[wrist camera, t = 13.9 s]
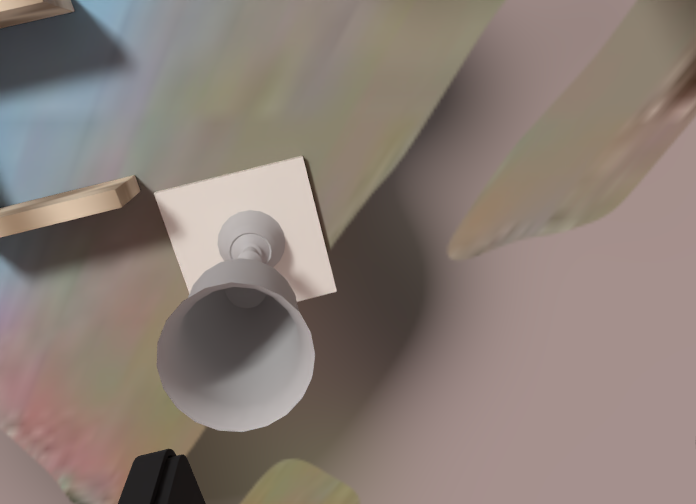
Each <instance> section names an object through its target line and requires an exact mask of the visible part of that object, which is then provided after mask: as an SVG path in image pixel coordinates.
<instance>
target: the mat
mask: <svg viewBox="0 0 696 504" xmlns="http://www.w3.org/2000/svg"><path fill="white" fill-rule="evenodd" d="M154 195H155V198H156V201H157V204H158V207H159V209H160V212H161V215H162V218H163V221H164V223H165V226H166V229H167V232H168V235H169V237H170V240H171V243H172V246H173V249H174V251H175V254H176V257H177V260H178V263H179V265H180V268H181V271H182V274H183V277H184V279H185V282H186V285H187V288H188V290H189V293H190V292H191V289H192V287H193V285H194V283H195V282H196V281H197V280H198V279H199V278H200V276H201V275H202V274H203V273H204V272H205V271H206V270H208V269H210V268H211V267H213V266H215V265H217V264H218V263H220V262H224V260H223V258H222V257H221V255H220V252H219V248H218V234H219V232H220V230H221V227H222V225H223V224H224V223H225V222H226V221H227V220H228V219H229V217H231V216H233V215H235V214H237V213H238V212H242V211H248V210H253V211H261V212H263V213H265V214H267V215H270V216H271V217H272V218H273V219H274V220H276V221H277V222H278V223H279V225H280V227H281V229H282V230H283V232H284V237H285V249H284V253H283V255H282V257H281V259H280V261H279V262H278V263H277V264H276V265H275V266H274V267H273V268H275V269H276V270H277V271H278V272H279V273H280V274H281V275H282V276H283V277H284V278H285V279H286V280H287V281H288V283H289V284H290V286H291V288H292V290H293V292H294V293H295V295H296V300H297V302H298V301H302V300H306V299H310V298H314V297H317V296H321V295H325V294H329V293H333V292H337V290H336V287H335V282H334V278H333V274H332V270H331V266H330V262H329V258H328V254H327V250H326V247H325V243H324V239H323V235H322V231H321V227H320V223H319V219H318V215H317V211H316V207H315V203H314V199H313V195H312V191H311V187H310V183H309V179H308V175H307V171H306V167H305V164H304V160H303V156H298V157H294V158H290V159H286V160H282V161H278V162H274V163H270V164H266V165H262V166H258V167H254V168H250V169H246V170H242V171H238V172H233V173H229V174H225V175H221V176H217V177H213V178H209V179H205V180H201V181H197V182H193V183H189V184H185V185H181V186H177V187H173V188H169V189H165V190H161V191H156V192H155V193H154Z"/></svg>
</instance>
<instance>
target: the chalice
mask: <svg viewBox="0 0 696 504" xmlns="http://www.w3.org/2000/svg"><path fill="white" fill-rule="evenodd" d="M218 248H219V252H220V255H221V257H222V258H223V260H224V262H220V263H218V264H217V265H215V266H213V267H211V268H210V269H208V270H206V271H205V272H204V273H203V274H202V275H201V276H200V278H199V279H198V280H197V281H196V282H195V283H194V285H193V287H192V289H191V292H190V294H189V297H188V298H187V299H186V300H184V301H182V303H181V304H180V305H179V306H178V307H177V309H176V310H175V311H174V312H173V313H172V314H171V316H170V317H169V318H168V319H167V320H166V323H165V325H164V328H163V330H162V333H161V336H160V338H159V341H158V347H157V369H158V372H159V375H160V379H161V382H162V385H163V389H164V390H165V391H166V393H167V394H168V396H169V397H170V399H171V400H172V401H173V403H174V404H175V406H176V407H177V408H178V409H179V410H181V411H182V412H183V413H185V414H186V415H187V416H189V417H190V418H191V419H192V420H194V421H195V422H197V423H200V424H203V425H205V426H208V427H211V428H214V429H216V430H222V431H240V432H243V431H248V430H252V429H256V428H261V427H264V426H268V425H269V424H271V423H273V422H274V421H276V420H278V419H280V418H281V417H283V416H285V415H287V414H288V412H289V411H290V410H291V409H292V408H293V407H294V406H295V405H296V404H297V403H298V402H299V400H301V399H302V397H303V395H304V393H305V391H306V389H307V387H308V385H309V383H310V381H311V378H312V374H313V367H314V359H315V352H314V348H313V342H312V337H311V332H310V330H309V329H308V327H307V325H306V324H305V322H304V320H303V318H302V316H301V314H300V313H299V311H298V306H297V300H296V295H295V293H294V292H293V290H292V288H291V286H290V284H289V283H288V281H287V280H286V279H285V278H284V277H283V276H282V275H281V274H280V273H279V272H278V271H277V270H276V269H275V268H273V267H274V266H275V265H276V264H277V263H278V262H279V261H280V259H281V257H282V255H283V253H284V249H285V237H284V232H283V230H282V229H281V227H280V225H279V223H278V222H277V221H276V220H274V219H273V218H272V217H271V216H270V215H267V214H265V213H263V212H261V211H253V210H248V211H242V212H238V213H237V214H235V215H233V216H231V217H229V219H228V220H227V221H226V222H225V223H224V224H223V225H222V227H221V230H220V232H219V234H218Z"/></svg>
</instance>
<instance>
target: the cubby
mask: <svg viewBox="0 0 696 504" xmlns="http://www.w3.org/2000/svg"><path fill="white" fill-rule="evenodd" d="M71 12H75V11H74V8H73V5H72V2H71V0H0V29H1V28H5V27H9V26H14V25H18V24H23V23H27V22H31V21H36V20H40V19H44V18H49V17H53V16H57V15H62V14H66V13H71ZM139 192H140V188H139V185H138V183H137V180H136V177H135V175H133V176H129V177H125V178H121V179H117V180H113V181H109V182H105V183H101V184H97V185H92V186H88V187H84V188H80V189H76V190H72V191H68V192H64V193H60V194H56V195H52V196H48V197H43V198H39V199H35V200H31V201H27V202H23V203H19V204H15V205H11V206H7V207H3V208H0V237H5V236H9V235H13V234H17V233H21V232H25V231H29V230H33V229H37V228H41V227H45V226H49V225H53V224H57V223H61V222H65V221H69V220H73V219H77V218H81V217H85V216H89V215H93V214H98V213H102V212H106V211H110V210H114V209H118V208H122V207H123V206H124V205H125V204H126V203H128V202H129V201H130V200H131V199H132V198H133V197H134V196H136V195H137V194H138V193H139Z"/></svg>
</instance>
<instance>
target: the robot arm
mask: <svg viewBox="0 0 696 504" xmlns="http://www.w3.org/2000/svg"><path fill="white" fill-rule="evenodd" d="M118 504H205V501H204V499H203V496H202V494H201V491H200V489H199V487H198V484H197V481H196V479H195V477H194V474H193V472H192V469H191V467H190V464H189V462H188V460H187V458H186V456H185V455H178V456H176V454H175V452H174V451H173V450H172V449H166V450H162V451H158V452H154V453H149V454H145V455H141V456H138V457H137V458H135V460H134V462H133V464H132V467H131V470H130V472H129V475H128V478H127V480H126V483H125V486H124V489H123V491H122V494H121V497H120V499H119V502H118Z"/></svg>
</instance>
